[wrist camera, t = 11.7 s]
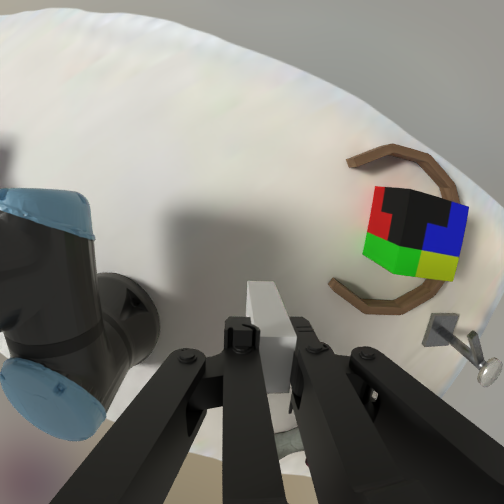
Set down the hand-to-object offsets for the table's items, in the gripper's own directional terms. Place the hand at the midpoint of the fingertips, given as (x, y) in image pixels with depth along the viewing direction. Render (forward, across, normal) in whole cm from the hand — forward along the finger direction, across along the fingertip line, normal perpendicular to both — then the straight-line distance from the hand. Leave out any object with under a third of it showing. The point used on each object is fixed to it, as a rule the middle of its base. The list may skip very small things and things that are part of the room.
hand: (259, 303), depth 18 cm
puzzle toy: (+24, -23, -2) cm, 33 cm away
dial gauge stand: (+24, -35, +14) cm, 44 cm away
